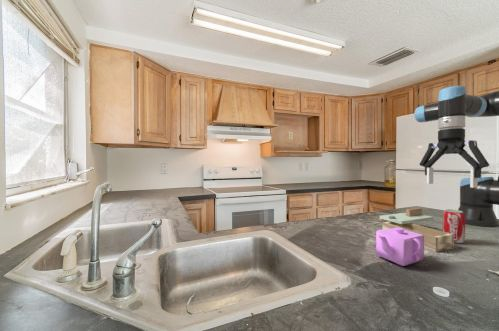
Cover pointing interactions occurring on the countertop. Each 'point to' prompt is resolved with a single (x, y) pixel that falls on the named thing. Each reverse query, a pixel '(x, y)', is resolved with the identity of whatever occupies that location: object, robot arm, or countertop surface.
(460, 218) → the beverage can
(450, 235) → the trough
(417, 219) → the cover
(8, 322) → the countertop surface
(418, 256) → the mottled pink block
